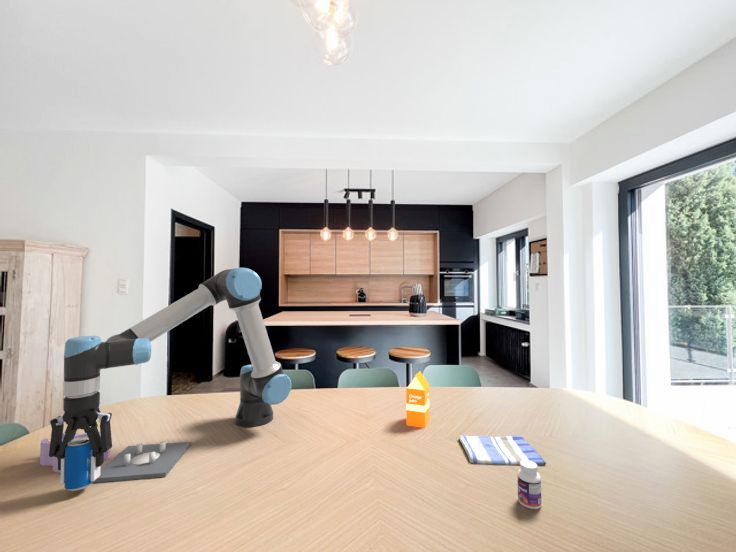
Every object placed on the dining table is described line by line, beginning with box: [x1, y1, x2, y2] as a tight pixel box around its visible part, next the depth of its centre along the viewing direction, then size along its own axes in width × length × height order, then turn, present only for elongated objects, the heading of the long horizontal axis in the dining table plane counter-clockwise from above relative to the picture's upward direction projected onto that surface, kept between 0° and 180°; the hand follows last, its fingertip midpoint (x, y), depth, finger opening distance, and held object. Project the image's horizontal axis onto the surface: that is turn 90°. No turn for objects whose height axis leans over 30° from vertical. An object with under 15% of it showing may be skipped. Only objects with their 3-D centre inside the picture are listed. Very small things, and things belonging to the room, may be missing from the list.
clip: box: [39, 431, 111, 474], centre depth 105 cm, size 20×12×7 cm, turn 78°
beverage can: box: [64, 436, 94, 492], centre depth 89 cm, size 6×6×12 cm
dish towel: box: [457, 434, 547, 466], centre depth 110 cm, size 17×24×3 cm
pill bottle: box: [516, 460, 542, 510], centre depth 84 cm, size 5×5×10 cm
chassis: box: [92, 441, 192, 484], centre depth 104 cm, size 20×20×4 cm
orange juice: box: [405, 370, 430, 429], centre depth 135 cm, size 8×9×20 cm
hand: (80, 479), depth 89 cm, fingers closed on beverage can, 6 cm apart
